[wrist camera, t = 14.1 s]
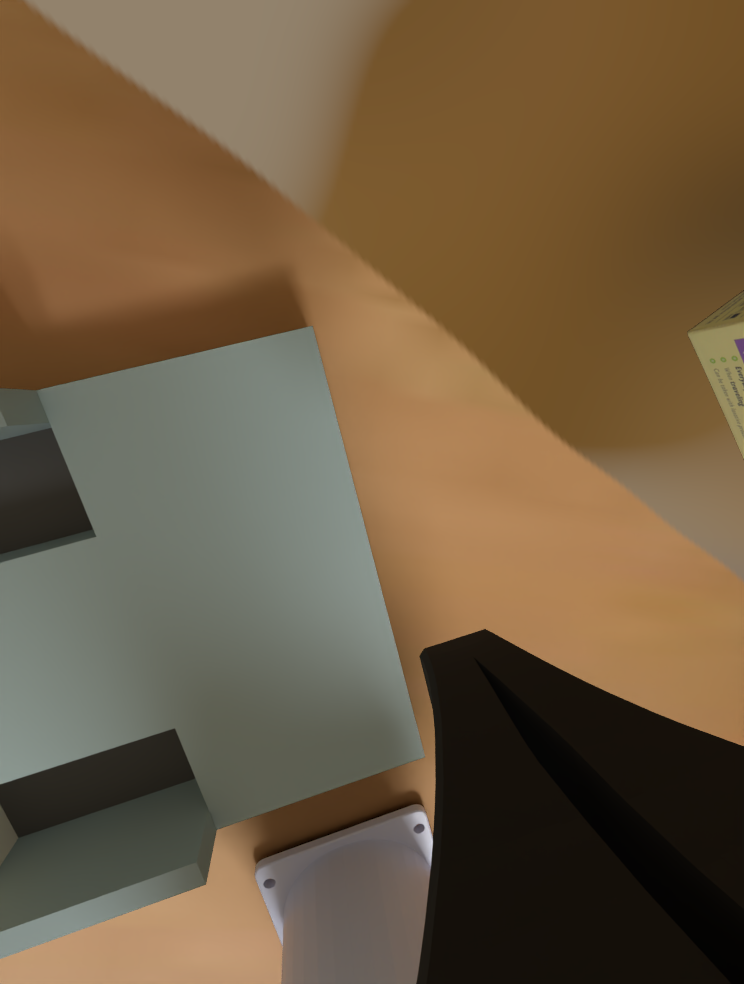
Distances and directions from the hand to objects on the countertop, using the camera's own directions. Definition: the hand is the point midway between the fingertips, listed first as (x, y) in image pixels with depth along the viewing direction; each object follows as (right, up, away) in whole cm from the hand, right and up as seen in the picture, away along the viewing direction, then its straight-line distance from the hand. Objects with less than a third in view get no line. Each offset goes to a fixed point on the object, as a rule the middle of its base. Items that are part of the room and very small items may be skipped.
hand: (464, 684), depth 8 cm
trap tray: (-14, -2, +8) cm, 16 cm away
